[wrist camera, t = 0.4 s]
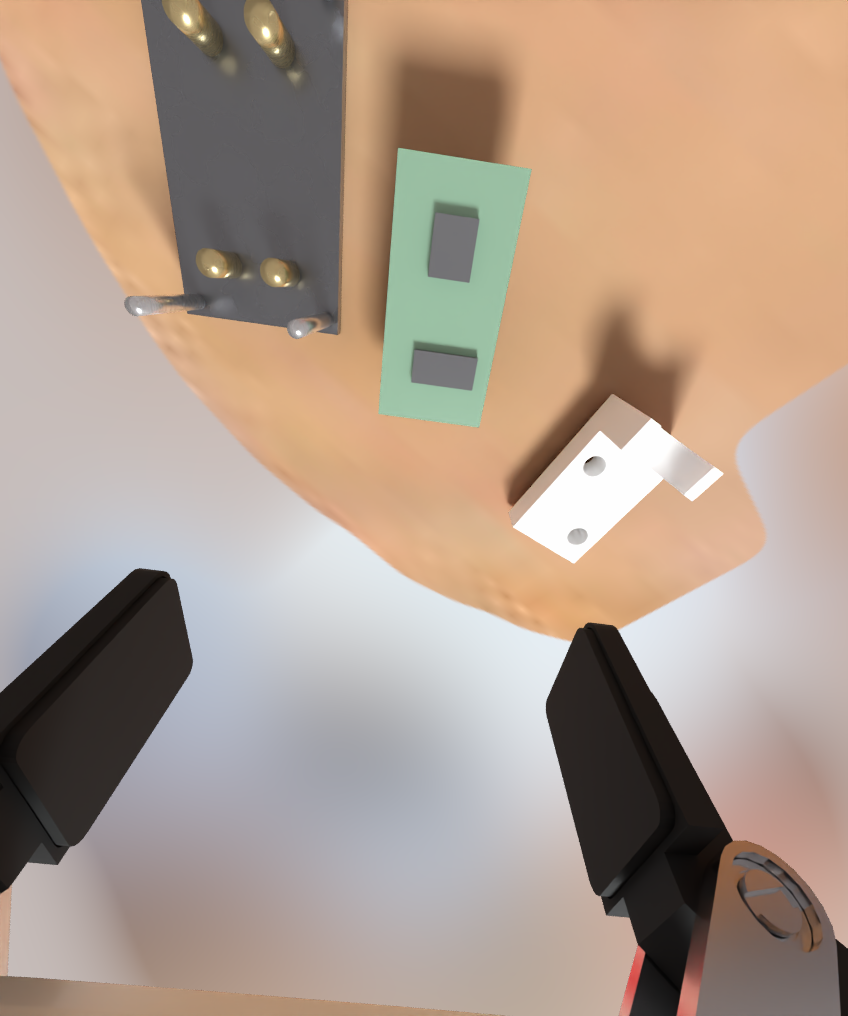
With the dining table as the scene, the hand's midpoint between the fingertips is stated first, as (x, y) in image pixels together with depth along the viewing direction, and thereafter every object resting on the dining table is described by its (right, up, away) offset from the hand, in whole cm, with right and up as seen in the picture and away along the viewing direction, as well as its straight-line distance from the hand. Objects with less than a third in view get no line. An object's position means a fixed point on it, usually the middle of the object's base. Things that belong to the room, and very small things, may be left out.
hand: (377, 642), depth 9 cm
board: (+2, +16, +16) cm, 23 cm away
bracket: (+15, +6, +27) cm, 31 cm away
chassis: (-10, +25, +16) cm, 31 cm away
